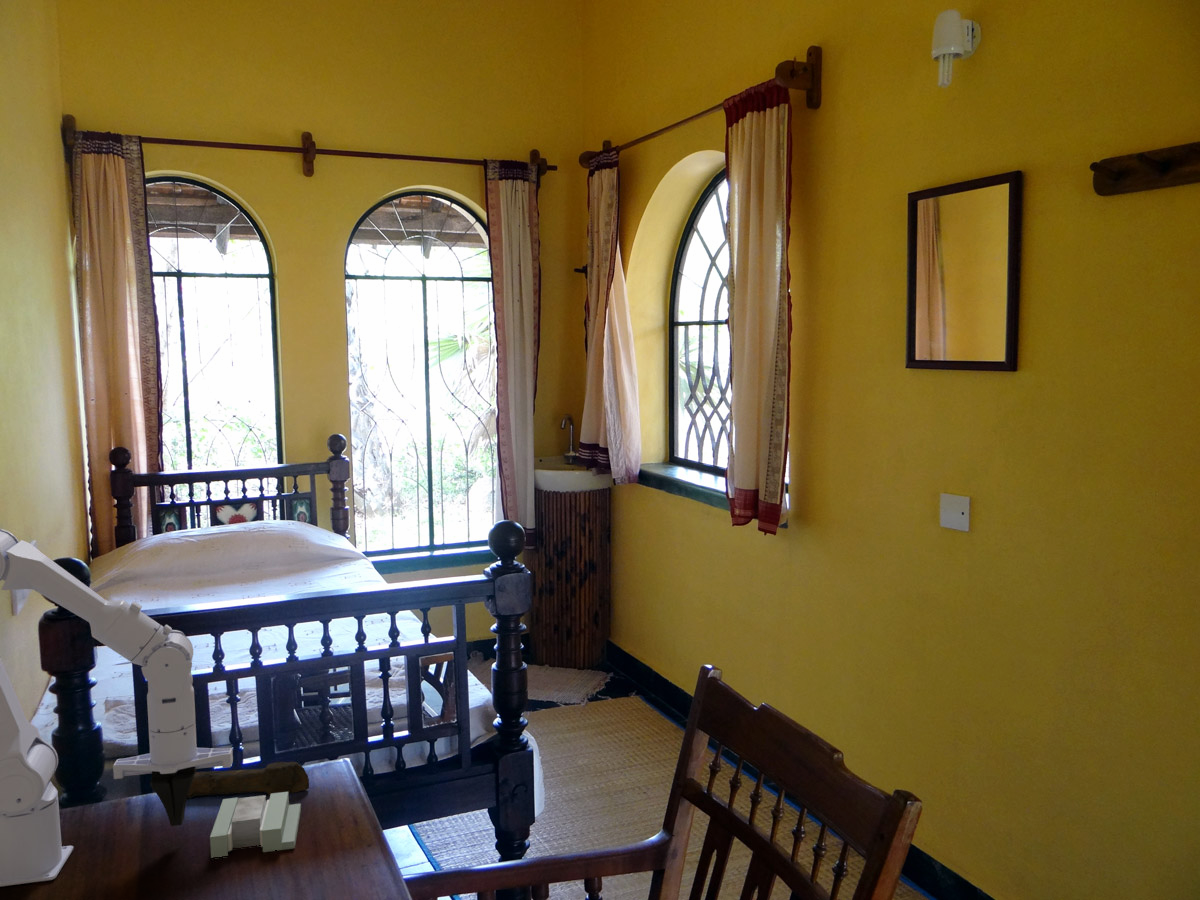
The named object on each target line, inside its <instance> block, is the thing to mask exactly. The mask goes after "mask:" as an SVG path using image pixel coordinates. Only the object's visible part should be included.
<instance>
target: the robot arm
mask: <svg viewBox="0 0 1200 900" xmlns="http://www.w3.org/2000/svg"><path fill="white" fill-rule="evenodd" d="M1 581H4V583H3V585H2V587H1V590H3V591H18V590H32V591H34V592H37V593H39V594H41V595H42V596H43V597H45V598H47V599H48V600H50V601H52V602H53V603H55V604H57V605H58V606H61V607H62V608H64V609H66V610H68V611H69V612H70V613H73V614H74V615H75V616H78V617H79V618H81V619H83V620H85V621H86V622H88V623H89V626H90V631H91V632H90V633H91V637H92V638H94V639H95V640H97V641H98V642H99V643H101V644H103V645H104V646H105V647H107V648H108V649H110V650H112V651H113V652H115V653H117V654H118V655H120V656H121V657H123V658H124V659H126V660H127V661H128V662H130V663H132V664H133V665H138V666H141V668H140V669H141V672H142V675H143V678H144V679H145V680H146V681H147V688H148V689H147V690H148V691H147V695H146V701H147V702H146V703H147V717H148V718H147V719H148V720H147V723H148V740H149V753H145V754H140V755H136V756H130V757H126V758H125V757H124V758H118V759H116V761H115V762H114V764H113V765H112V770H113V779H114V780H118V779H123V778H124V777H125V776H126V777H128V776H137V775H147V774H151V779H150V782H149V784H150V787H151V789H152V790H153V791H154V793H155V794H156V795H157V797H158V798H159V800H160V802H161V804H162V805H163V808H164V809H165V810H164V811H165V813H166V815H167V817H168V822H169V824H170V827H174V826H181V825H182V824H183V823H184V821H185V813H186V812H185V811H186V805H187V800H188V793H189V790H190V787H191V784H192V781H193V778H194V776H195V773H196V772H198V770H199V769H206V768H208V769H209V768H215V767H216V768H218V767H222V768H224V769H225V768H226V769H228V768H231V767H232V764H233V761H234V756H233V753H234V752H233V748H232V747H231V748H213V747H211V748H209V747H197V727H196V726H197V723H196V706H195V705H196V703H195V688H194V686H193V682H194V680H193V679H194V677H193V674H192V667H193V662H192V661H193V657H194V647H193V643H192V641H191V640H190V639H189V637H188V636H186V635H185V633H184V632H183V631H181V630H178V629H172V627H171V626H169V625H168V624H165V625H164V626H163V625H162V624H160V623H158V622H157V620H154V619H153V618H152V617H150V616H149V615H147V614H145V613H144V612H142V611H141V609H142V608H143V605H141V604H139V603H138V602H137V601H132V603H129V602H127V601H126V600H125V599H119V600H118V599H117V600H107V599H105V598H104V597H102V596H101V595H100V594H98V592H96V591H94V590H93V589H91V588H90V587H88V586H87V584H85V583H84V582H82V581H80V580H79V579H78V578H77V577H75V576H74V575H73V574H71V573H70V572H68V570H66V569H64V568H63V567H62V566H60V565H59V564H58V563H56V562H55V561H53V560H52V559H51V558H49V557H48V556H47V555H45V554H44V553H42V551H40V550H39V549H38V548H37V547H36V546H34V545H33V544H31V543H30V542H28V541H25V540H24V539H23V540H22V539H21V540H20V541H19V539H18V538H17V536H16V535H14V534H13V533H12V532H10V531H8V530H7V529H3V528H0V582H1ZM57 752H58V751H57V750H56V749H55V747H54V746H53V745H52V744H50V743H49V742H47V741H46V740H45V739H44V738H43V737H42V736H41V734H40V731H39V729H38V727H37V726H35V725H33V723H31V722H30V721H28V719H27V717H26V715H25V712H24V710H23V708H22V705H21V703H20V701H19V698H18V696H17V693H16V691H15V689H14V686H13V684H12V682H11V680H10V677H9V674H8V673H7V670H6V667H5V666H4V663H3V661H2V658H1V657H0V887H8V886H14V885H16V886H17V885H21V884H30V883H39V882H46V881H52V880H55V879H56V878H57V877H58V875H59V873H60V872H61V870H62V868H63V866H64V865H65V863H66V862H67V860H68V858H69V857H70V855H71V854H72V852H73V851H74V846H73V845H66V846H65V845H63V846H62V834H61V833H62V832H61V821H60V820H61V819H60V809H59V808H60V805H59V795H58V794H59V791H58V789H57V788H56V787H55V786H54V784H53V783H52V781H51V778H52V776H53V775H54V774H55V773H56V770H57V768H58V765H59V756H58V753H57Z"/></svg>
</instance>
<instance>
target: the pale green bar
mask: <svg viewBox="0 0 1200 900" xmlns="http://www.w3.org/2000/svg"><path fill="white" fill-rule="evenodd" d="M289 799H290V798H289V793H288V792H281V793H272V794H271V795H270V796H269V799H266V807H265V811H264V815H263V819H262V823H261V827H260V845H261V846H260V847H261V848H262V852H263V853H267V852H276V851H275V850H277V851H285V850H291V849H295V848H296V843H297V838H298V837H297V835H298V829H299V824H300V819H301V818H300V817H301V813H302V812H301V811H302V809H301V808H302V805H301V803H294V804H290V801H289Z"/></svg>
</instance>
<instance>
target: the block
mask: <svg viewBox="0 0 1200 900" xmlns="http://www.w3.org/2000/svg"><path fill="white" fill-rule="evenodd" d="M266 803H267V796H266V794H265V795H264V794H263V795H256V796H254V795H253V796H249V797H238V802H237V805H236V809H235V812H234V815H233V818H232V821H231V825H232V842H233V848H236V847H237V848H241V847H247V846H256V845H257V847H260V846H259V845H260V827H261V823H262V819H263V815H264V811H265V807H266ZM233 848H232V849H233ZM241 849H242V848H241Z"/></svg>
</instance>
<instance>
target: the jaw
mask: <svg viewBox="0 0 1200 900" xmlns="http://www.w3.org/2000/svg"><path fill="white" fill-rule="evenodd" d="M238 799H239V797H231V798H223V799H222V802H221V804H220V807H219V811H218V813H217V816H216V818H215V821H214V824H213V828H212V830H211V833H210V836H209V840H210V841H209V843H210V858H213V857H222V856H229V854H228V852H229V853H230V852H231V851H233V842H232V825H231V821H232V818H233V815H234V812H235V809H236V805H237V802H238Z"/></svg>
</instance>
